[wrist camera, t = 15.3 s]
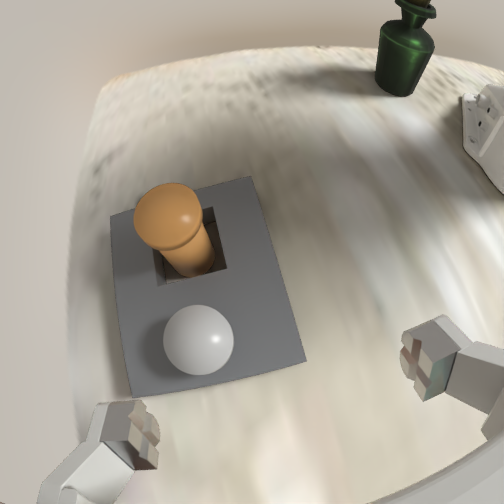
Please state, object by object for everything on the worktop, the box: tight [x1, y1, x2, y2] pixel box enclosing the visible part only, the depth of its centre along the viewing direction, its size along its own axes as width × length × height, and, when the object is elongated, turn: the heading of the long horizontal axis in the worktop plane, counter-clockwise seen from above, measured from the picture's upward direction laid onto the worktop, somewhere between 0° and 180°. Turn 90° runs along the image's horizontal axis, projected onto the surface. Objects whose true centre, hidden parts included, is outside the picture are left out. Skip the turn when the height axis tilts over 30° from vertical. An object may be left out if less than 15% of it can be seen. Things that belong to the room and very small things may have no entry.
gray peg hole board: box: [110, 176, 307, 398], centre depth 26 cm, size 18×15×6 cm
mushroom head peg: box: [133, 183, 215, 277], centre depth 26 cm, size 5×5×9 cm
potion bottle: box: [375, 0, 436, 96], centre depth 31 cm, size 8×8×18 cm
